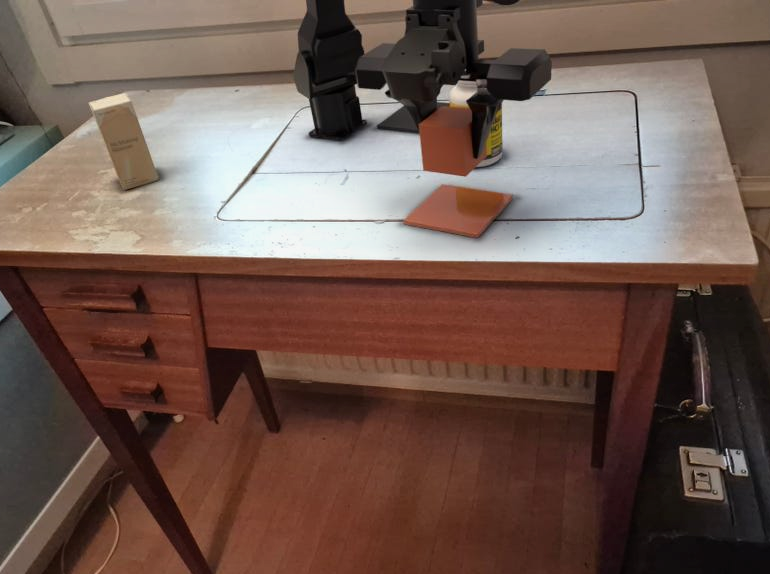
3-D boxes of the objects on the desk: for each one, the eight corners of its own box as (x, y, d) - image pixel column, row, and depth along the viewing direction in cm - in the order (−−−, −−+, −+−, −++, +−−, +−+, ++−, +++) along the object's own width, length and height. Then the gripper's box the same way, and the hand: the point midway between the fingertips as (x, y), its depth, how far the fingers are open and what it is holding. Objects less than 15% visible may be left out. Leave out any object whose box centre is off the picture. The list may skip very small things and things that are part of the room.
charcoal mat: (377, 128, 95) (376, 125, 94) (412, 103, 101) (411, 99, 100) (431, 134, 90) (431, 131, 90) (464, 107, 96) (464, 104, 96)
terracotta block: (423, 170, 69) (418, 124, 66) (445, 151, 72) (442, 105, 69) (465, 177, 67) (463, 129, 64) (487, 156, 70) (485, 109, 67)
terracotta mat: (403, 224, 73) (403, 220, 72) (442, 187, 78) (442, 183, 78) (477, 238, 68) (477, 233, 68) (513, 198, 74) (513, 194, 73)
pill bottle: (501, 168, 80) (499, 74, 73) (450, 169, 81) (443, 78, 74) (504, 146, 84) (503, 56, 77) (456, 148, 86) (451, 60, 79)
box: (124, 191, 90) (90, 110, 83) (119, 180, 93) (85, 102, 86) (161, 179, 91) (131, 99, 84) (155, 169, 94) (125, 91, 87)
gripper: (308, 13, 59) (339, 176, 69) (502, 16, 50) (504, 203, 60) (375, -20, 65) (394, 134, 75) (556, -22, 56) (550, 152, 66)
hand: (454, 154), depth 69 cm, fingers closed on terracotta block, 5 cm apart
